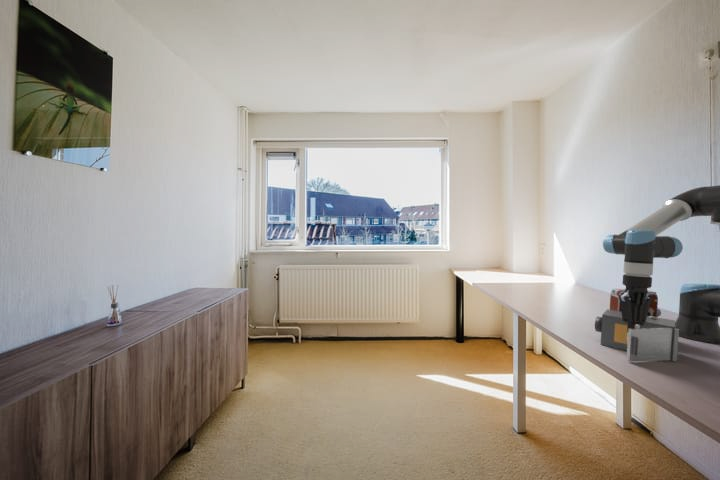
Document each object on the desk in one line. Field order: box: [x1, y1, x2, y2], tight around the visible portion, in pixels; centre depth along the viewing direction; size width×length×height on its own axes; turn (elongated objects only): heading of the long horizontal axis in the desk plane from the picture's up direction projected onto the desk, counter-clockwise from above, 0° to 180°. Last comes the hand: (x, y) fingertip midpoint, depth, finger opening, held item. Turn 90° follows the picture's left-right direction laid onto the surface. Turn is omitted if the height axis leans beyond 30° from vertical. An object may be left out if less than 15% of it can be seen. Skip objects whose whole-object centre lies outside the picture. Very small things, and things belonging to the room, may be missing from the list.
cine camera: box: [609, 288, 662, 318], centre depth 134 cm, size 9×19×20 cm, turn 78°
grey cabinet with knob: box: [594, 309, 680, 362], centre depth 120 cm, size 13×24×13 cm, turn 45°
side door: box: [626, 328, 672, 362], centre depth 107 cm, size 2×16×11 cm, turn 97°
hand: (632, 342), depth 109 cm, fingers closed
